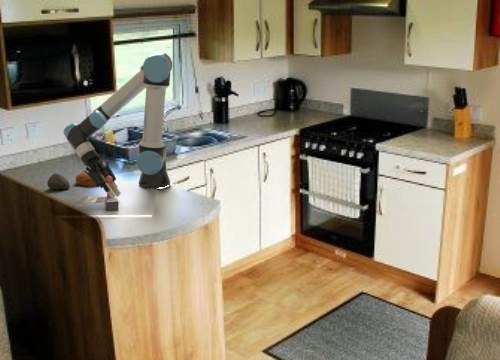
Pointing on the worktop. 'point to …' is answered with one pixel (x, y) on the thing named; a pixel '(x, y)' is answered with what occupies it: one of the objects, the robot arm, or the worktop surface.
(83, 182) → the croissant
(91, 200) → the track
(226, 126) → the worktop surface
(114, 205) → the die
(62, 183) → the stone
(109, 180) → the pawn
